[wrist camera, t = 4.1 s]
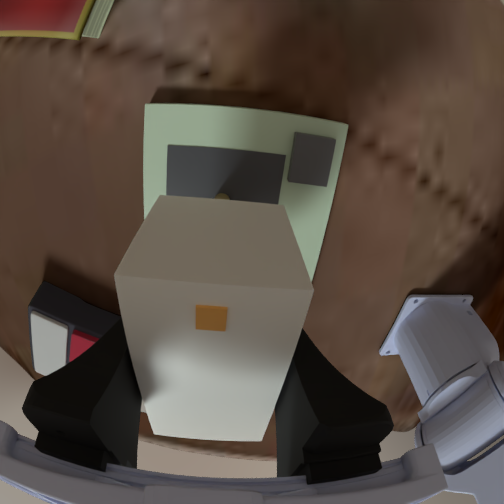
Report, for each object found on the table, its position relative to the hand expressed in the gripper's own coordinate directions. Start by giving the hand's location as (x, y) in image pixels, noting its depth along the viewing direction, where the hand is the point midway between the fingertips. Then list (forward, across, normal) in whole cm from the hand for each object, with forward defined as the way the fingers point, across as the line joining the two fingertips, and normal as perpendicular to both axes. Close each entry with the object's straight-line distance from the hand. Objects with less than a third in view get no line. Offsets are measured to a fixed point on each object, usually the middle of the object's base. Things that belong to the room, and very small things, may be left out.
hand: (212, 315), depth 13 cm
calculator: (+10, +11, +14) cm, 20 cm away
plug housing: (+2, 0, 0) cm, 2 cm away
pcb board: (+9, -1, 0) cm, 9 cm away
